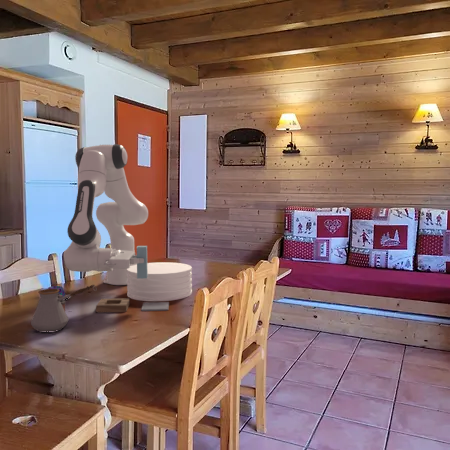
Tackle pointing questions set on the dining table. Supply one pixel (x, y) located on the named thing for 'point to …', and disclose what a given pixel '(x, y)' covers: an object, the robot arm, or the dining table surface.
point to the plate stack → (160, 282)
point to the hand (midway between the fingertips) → (144, 259)
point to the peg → (142, 267)
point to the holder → (113, 305)
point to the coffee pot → (52, 310)
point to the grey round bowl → (61, 290)
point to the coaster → (155, 306)
